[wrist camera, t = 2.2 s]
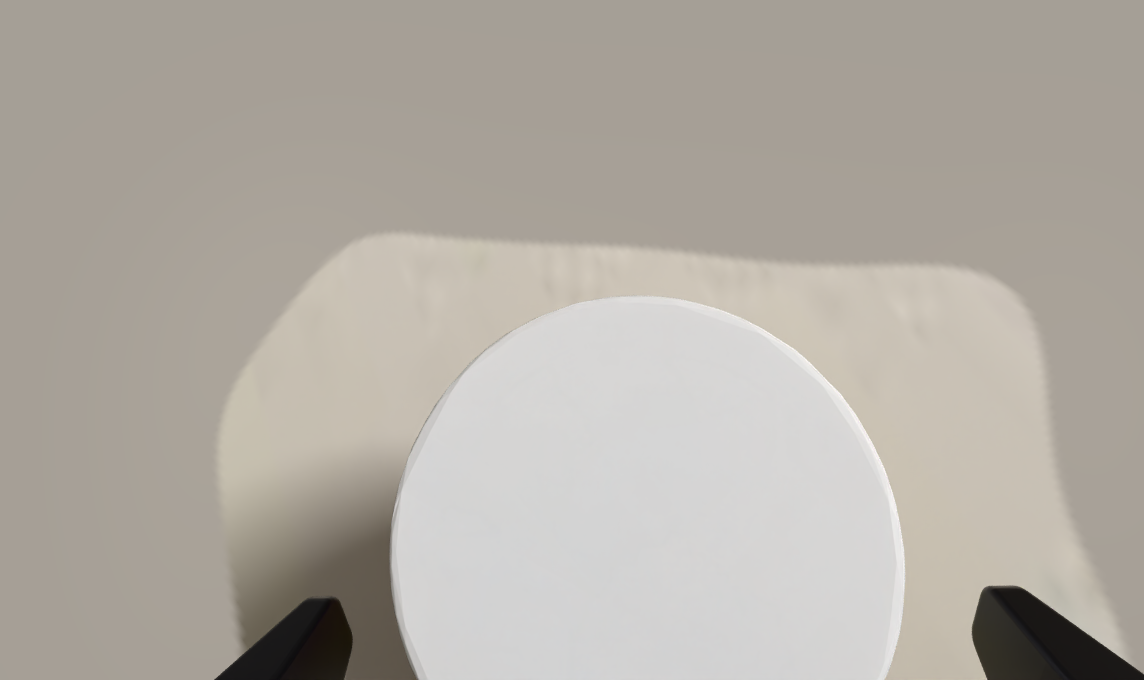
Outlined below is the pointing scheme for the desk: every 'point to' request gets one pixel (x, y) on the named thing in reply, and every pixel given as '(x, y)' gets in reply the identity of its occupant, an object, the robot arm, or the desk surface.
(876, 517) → the supplement bottle
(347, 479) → the desk surface
